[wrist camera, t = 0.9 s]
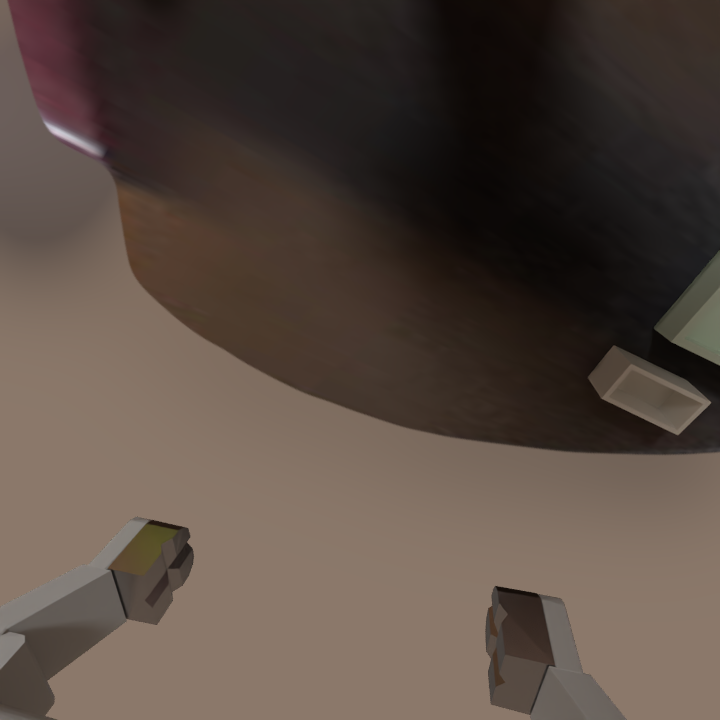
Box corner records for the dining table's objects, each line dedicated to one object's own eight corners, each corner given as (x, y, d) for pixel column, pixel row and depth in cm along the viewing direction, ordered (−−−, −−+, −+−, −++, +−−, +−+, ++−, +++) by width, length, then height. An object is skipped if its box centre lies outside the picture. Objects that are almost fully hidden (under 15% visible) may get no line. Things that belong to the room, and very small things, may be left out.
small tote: (613, 344, 46) (631, 363, 42) (686, 379, 46) (711, 402, 42) (587, 377, 48) (601, 398, 44) (656, 410, 48) (677, 435, 44)
